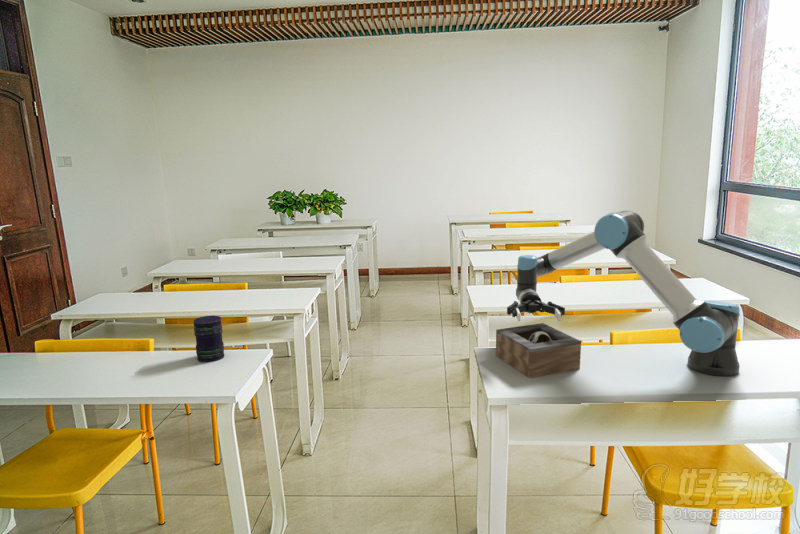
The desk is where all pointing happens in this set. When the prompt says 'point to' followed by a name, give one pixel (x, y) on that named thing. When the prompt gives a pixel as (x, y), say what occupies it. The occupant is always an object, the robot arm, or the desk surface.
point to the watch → (535, 336)
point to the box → (538, 350)
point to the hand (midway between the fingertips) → (539, 317)
